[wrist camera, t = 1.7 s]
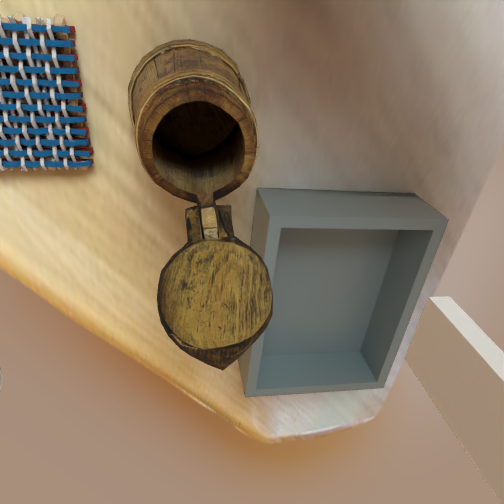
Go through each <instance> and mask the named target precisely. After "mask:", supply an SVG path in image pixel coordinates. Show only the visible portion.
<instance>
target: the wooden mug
mask: <svg viewBox="0 0 504 504" xmlns="http://www.w3.org/2000/svg"><path fill="white" fill-rule="evenodd" d="M128 97H129V111H130V116H131V120H132V125H133V127H134V130H135V139H136V146H137V151H138V154H139V157H140V160H141V163H142V165H143V167H144V169H145V170H146V172H147V173H148V175H149V176H150V178H151V179H152V180H153V181H154V182H155V183H156V184H157V185H159V186H160V187H162V188H163V189H165V190H166V191H168V192H169V193H171V194H172V195H174V196H177V197H179V198H182V199H184V200H187V201H191V202H195V203H197V206H194V207H191V208H188V209H186V213H185V218H186V226H187V236H188V242H187V243H186V244H185V245H184V247H182V248H181V249H180V250H179V251H177V252H176V253H175V254H174V255H173V256H172V257H171V259H170V260H169V261H168V263H167V264H166V265H165V267H164V268H163V269H162V271H161V274H160V279H159V284H158V294H157V303H158V312H159V316H160V320H161V323H162V325H163V327H164V329H165V331H166V333H167V334H168V336H169V337H170V338H171V340H172V341H173V342H174V343H175V344H176V345H177V346H178V347H179V348H180V349H182V350H183V351H185V352H186V353H187V354H189V355H190V356H192V357H194V358H196V359H198V360H200V361H202V362H204V363H206V364H208V365H210V366H213V367H215V368H218V369H221V370H224V369H225V368H227V367H228V366H229V365H230V364H232V363H233V362H234V361H235V360H236V359H238V358H239V357H240V356H241V355H242V354H243V353H244V352H245V351H246V350H247V349H248V348H249V347H250V346H251V345H252V344H253V343H255V341H256V340H257V339H258V338H259V337H260V335H261V334H262V333H263V332H264V331H265V329H266V328H267V326H268V324H269V322H270V320H271V317H272V315H273V293H272V287H271V282H270V277H269V272H268V268H267V266H266V265H265V263H264V261H263V259H262V258H261V256H260V255H259V254H258V253H257V252H255V251H254V250H253V249H252V248H251V247H249V246H248V245H246V244H245V243H244V242H242V241H241V240H239V239H238V238H237V237H235V236H234V232H233V226H232V219H231V206H221V205H216V203H215V201H216V200H218V199H220V198H221V197H223V196H225V195H227V194H229V193H231V192H232V191H234V190H235V189H237V188H238V187H240V185H241V184H242V183H243V182H244V181H245V180H246V179H247V178H248V176H249V174H250V172H251V169H252V167H253V165H254V162H255V160H256V156H257V152H258V148H259V142H258V133H257V125H256V119H255V117H254V114H253V112H252V110H251V105H250V98H249V95H248V92H247V89H246V86H245V83H244V80H243V79H242V78H241V76H240V73H239V71H238V68H237V66H236V64H235V63H234V62H233V61H232V60H231V59H230V58H229V57H228V56H227V55H226V54H225V53H224V52H223V51H222V50H221V49H218V48H216V47H214V46H211V45H209V44H207V43H203V42H199V41H194V40H190V39H189V40H175V41H171V42H168V43H165V44H163V45H160V46H157V47H156V48H155V49H153V50H152V51H151V52H149V53H148V54H147V55H145V56H144V57H143V58H142V60H141V61H140V63H139V64H138V66H137V67H136V68H135V70H134V72H133V74H132V77H131V80H130V83H129V86H128Z"/></svg>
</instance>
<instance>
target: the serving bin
mask: <svg viewBox="0 0 504 504" xmlns="http://www.w3.org/2000/svg"><path fill="white" fill-rule="evenodd" d="M448 220H449V219H447V218H446V217H445V216H443V215H442V214H441V213H439V212H438V211H437V210H436V209H434V208H433V207H432V206H430V205H429V204H428V203H426V202H425V201H424V200H422V199H421V198H420V197H418V196H417V195H416V194H414V193H386V192H358V191H330V190H302V189H274V188H257V193H256V202H255V210H254V219H253V228H252V237H251V245H250V247H251V248H252V249H253V250H254V251H255V252H257V253H258V254H259V255H260V256H261V258H262V259H263V261H264V263H265V265H266V266H267V268H268V272H269V277H270V282H271V287H272V293H273V315H272V317H271V320H270V322H269V324H268V326H267V328H266V329H265V331H264V332H263V333H262V334H261V335H260V337H259V338H258V339H257V340H256V341H255V343H253V344H252V345H251V346H250V347H249V348H248V349H247V350H246V351H245V352H244V353H243V354H242V355H241V356H240V357H239V358H238V361H239V366H240V372H241V378H242V383H243V389H244V394H245V397H257V396H272V395H287V394H302V393H316V392H331V391H346V390H361V389H376V388H383V387H384V385H385V382H386V380H387V377H388V374H389V372H390V369H391V367H392V364H393V362H394V359H395V356H396V354H397V351H398V349H399V346H400V344H401V341H402V338H403V336H404V333H405V331H406V328H407V326H408V323H409V320H410V318H411V315H412V313H413V310H414V308H415V305H416V302H417V300H418V297H419V295H420V292H421V290H422V287H423V284H424V282H425V279H426V277H427V274H428V272H429V269H430V266H431V264H432V261H433V259H434V256H435V254H436V251H437V248H438V246H439V243H440V241H441V238H442V236H443V233H444V230H445V228H446V225H447V223H448Z"/></svg>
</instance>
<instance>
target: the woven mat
mask: <svg viewBox="0 0 504 504" xmlns="http://www.w3.org/2000/svg"><path fill="white" fill-rule="evenodd" d="M8 19H9V21H8ZM8 19H7V18H3V17H2V18H1V15H0V44H1V46H2V48H3V49H4V51H0V110H3V114H0V169H1V171H6V170H8V169H9V168H10V170H14V167H17V166H21V169H20V170H21V171H27V172H28V170H27V168H26V167H29V168H33V170H36V167H39V166H41V167H42V168H43V169H44V170H46V167H45V166H47V167H48V169H49V170H53V171H55V170H56V168H57V170H60V169H61V167H62V166H64V167H65V169H67V170H69V169H70V168H71V167H74V170H77V167H79V168H80V169H82V170H87V169H89V166H91V165H92V164H93V163H94V162H93V159H88V157H90V155H89V153H93V147H92V148H86V145H88V144H89V143H90V138H86V137H85V135H86V132H89V130H88V127H83V122H86V121H87V119H86V116H84V115H81V112H83V111H82V109H86V104H84V103H78V99H80V98H83V92H78V91H77V87H79V86H78V85H80V86H81V85H82V84H81V80H76V79H75V74H77V73H79V67H74V66H73V61H75V60H78V56H77V54H71V48H70V47H74V46H76V45H75V41H74V40H69V37H68V34H67V33H70V32H75V27H74V26H65V20H64V16H62V15H59V14H57V15H56V16H55V17H54V25H51V19H50V18H46V25H45V22H44V20H41V19H40V17H36V24H31V17H25V15H24V14H23V13H16V14H15V16H14V19H15V21H16V23H15V21H14V19H13V17H12V16H8ZM11 30H12V37H11ZM17 31H20V35H21V38H18V37H17ZM32 31H37V32H38V38H39V39H35V36H34V34H33V32H32ZM52 32H55V33H56V36H57V39H58V40H55V39H54V36H53V33H52ZM48 35H49V36H48ZM49 37H50V39H49ZM19 45H23V49H24V52H21V49H20V47H19ZM37 46H39V51H38V47H37ZM51 46H52V52H51ZM56 47H60V49H61V53H56ZM2 58H5V59H6V61H7V63H8V65H4V64H3V62H2ZM23 60H26V63H27V65H23ZM57 60H62V61H63V66H64V67H60V66H59V64H58V61H57ZM41 62H42V64H43V66H42V65H41ZM54 64H55V66H54ZM5 72H10V77H6V74H5ZM25 72H28V73H29V76H30V78H27V76H26V74H25ZM44 73H46V76H45V75H44ZM39 74H40V76H41V78H40V76H39ZM61 74H65V78H66V79H61ZM56 76H57V77H56ZM46 77H47V78H46ZM9 85H12V87H13V89H14V90H13V89H12V88H11V87H10V86H9ZM41 85H43V89H42V90H41ZM29 86H30V90H29ZM47 86H48V87H49V90H47ZM62 86H67V89H68V92H64V91H63V88H62ZM13 98H16V102H13ZM31 98H32V99H33V101H34V103H32V100H31ZM48 98H51V102H52V103H49V100H48ZM65 99H68V102H65ZM15 110H17V111H18V113H15ZM29 111H30V113H29ZM35 111H37V114H35ZM50 111H53V113H54V115H51V112H50ZM66 111H69V112H70V114H71V115H68V114H67V112H66ZM2 122H4V123H5V124H6V125H7V126H2ZM17 122H20V123H21V125H22V126H18V123H17ZM36 122H39V123H40V126H37V124H36ZM52 122H54V125H52ZM64 123H66V125H64ZM70 123H73V124H74V126H70ZM4 133H6V134H9V136H10V137H5V135H4ZM22 133H23V135H24V137H19V134H22ZM40 134H42V137H40ZM53 134H56V135H57V137H54V135H53ZM71 134H75V135H76V137H71ZM20 144H22V145H25V146H27V147H23V146H21V145H20ZM41 145H44V146H45V148H42V146H41ZM57 145H60V147H61V148H57ZM8 146H9V147H8ZM69 146H70V148H69ZM74 146H77V147H78V148H74ZM9 155H10V156H12V157H13V158H11V157H10V156H9ZM74 155H75V156H79V159H75V156H74ZM24 156H29V158H25V157H24ZM58 156H60V157H63V158H59V157H58ZM70 156H71V158H70Z"/></svg>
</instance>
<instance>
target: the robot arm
mask: <svg viewBox="0 0 504 504" xmlns="http://www.w3.org/2000/svg"><path fill="white" fill-rule="evenodd" d="M405 360H406V361H407V363H408V364H409V366H410V367H411V369H412V370H413V372H414V374H415V375H416V377H417V378H418V379H419V381H420V382H421V384H422V386H423V387H424V389H425V390H426V392H427V393H428V395H429V396H430V398H431V399H432V401H433V402H434V404H435V405H436V407H437V408H438V410H439V411H440V413H441V414H442V416H443V418H444V419H445V420H446V422H447V423H448V425H449V427H450V428H451V430H452V431H453V432H454V434H455V436H456V437H457V439H458V440H459V442H460V443H461V445H462V446H463V447H464V449H465V451H466V452H467V454H468V455H469V457H470V458H471V460H472V461H473V463H474V465H475V466H476V468H477V469H478V471H479V472H480V474H481V475H482V476H483V478H484V479H485V481H486V483H487V484H488V486H489V487H490V489H491V490H492V492H493V493H494V495H495V496H496V498H497V499H498V501H499V502H500V504H504V352H502V350H500V348H499V347H498V346H497V345H496V344H495V343H494V342H493V341H492V340H491V339H490V338H489V337H488V336H487V335H486V334H485V333H484V332H483V331H482V329H481V328H480V327H479V326H478V325H477V324H476V323H475V322H474V321H473V320H472V319H471V318H470V317H469V316H468V315H467V314H466V313H465V312H464V311H463V310H462V309H461V308H460V307H459V306H458V305H457V303H456V302H455V301H453V299H451V297H449V296H448V297H429V298H428V300H427V303H426V305H425V308H424V310H423V313H422V315H421V318H420V320H419V323H418V326H417V328H416V331H415V333H414V336H413V338H412V341H411V343H410V346H409V348H408V351H407V353H406V356H405ZM3 383H4V378H3V375H2V372H1V368H0V389H1V387H2V385H3Z"/></svg>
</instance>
